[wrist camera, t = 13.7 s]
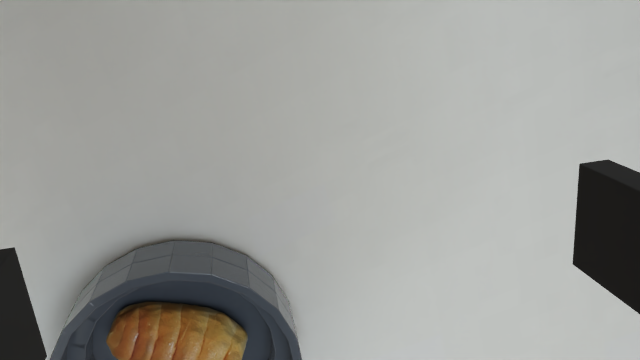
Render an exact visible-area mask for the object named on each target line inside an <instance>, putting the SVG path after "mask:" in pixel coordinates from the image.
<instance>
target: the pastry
mask: <svg viewBox="0 0 640 360" xmlns="http://www.w3.org/2000/svg"><path fill="white" fill-rule="evenodd" d="M247 340H248V335H247V333H246V331H245V330H244V329H243V328H242V327H241V326H240V325H239V324H238V323H236V322H235V321H234V320H232V319H231V318H230V317H229V316H227V315H226V314H225V313H222V312H219V311H216V310H213V309H211V308H208V307H200V306H197V305H188V304H181V303H180V304H175V303H170V302H169V303H167V302H143V303H139V304H133V305H129V306H127V307H125V308H124V309H122V310H121V311H119V312H118V314H117V315H116V317H115V319H114V321H113V323H112V327H111V329H110V332H109V333H108V335H107V339H106V343H107V345H108V346H109V348H110V350H111V353H112V355H113V356H115V357H116V358H117V359H118V360H242V357H243V354H244V350H245V348H246V343H247Z"/></svg>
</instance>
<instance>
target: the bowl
mask: <svg viewBox="0 0 640 360" xmlns="http://www.w3.org/2000/svg"><path fill="white" fill-rule="evenodd" d="M143 302H167V303H169V302H170V303H175V304H180V303H181V304H188V305H197V306H200V307H208V308H211V309H213V310H216V311H219V312H222V313H225V314H226V315H227V316H229V317H230V318H231V319H232V320H234V321H235V322H236V323H238V324H239V325H240V326H241V327H242V328H243V329H244V330H245V331H246V333H247V335H248V340H247V343H246V348H245V350H244V354H243V357H242V360H302V358H301V353H300V348H299V344H298V339H297V334H296V330H295V326H294V322H293V317H292V313H291V309H290V304H289V301H288V300H287V298H286V297H285V295H284V293H283V292H282V290H281V289H280V287H279V286H278V284H277V282H276V281H275V279H274V278H273V276H272V275H271V274H269V273H268V272H267V271H266V270H264V269H263V268H262V267H261V266H259V265H258V264H257V263H255V262H254V261H253V260H252V259H250V258H249V257H248V256H246V255H244V254H241V253H239V252H236V251H233V250H231V249H228V248H225V247H222V246H220V245H217V244H214V243H208V242H193V241H178V240H176V241H175V240H174V241H169V242H164V243H160V244H155V245H151V246H146V247H142V248H138V249H136V250H134V251H132V252H130V253H128V254H127V255H125V256H123V257H121V258H119V259H118V260H116V261H114V262H112V263H110V264H109V265H107V266H105V267H104V268H103V269H102V270H101V271H100V272H99V273H98V274H97V276H96V277H95V278H94V279H93V280H92V281H91V282H90V283H89V284H88V285H87V286H86V287H85V288H84V289H83V291H82V292H81V293H80V295H79V297H78V299H77V301H76V303H75V305H74V307H73V309H72V311H71V313H70V315H69V317H68V320H67V322H66V324H65V326H64V328H63V330H62V332H61V334H60V337H59V339H58V341H57V344H56V346H55V348H54V351H53V353H52V355H51V358H50V360H118V359H117V358H116V357H115V356H113V355H112V353H111V350H110V348H109V346H108V345H107V343H106V339H107V335H108V333H109V332H110V329H111V327H112V323H113V321H114V319H115V317H116V315H117V314H118V312H119V311H121V310H122V309H124V308H125V307H127V306H129V305H133V304H139V303H143Z"/></svg>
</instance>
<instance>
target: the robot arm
mask: <svg viewBox="0 0 640 360" xmlns="http://www.w3.org/2000/svg"><path fill="white" fill-rule="evenodd" d="M573 265H575V266H576V267H577V268H579V269H580V270H581V271H583V272H584V273H585V274H587V275H588V276H589V277H591V278H592V279H593V280H595V281H596V282H597V283H599V284H600V285H601V286H603V287H604V288H606V289H607V290H608V291H610V292H611V293H612V294H614V295H615V296H616V297H618V298H619V299H620V300H622V301H623V302H624V303H626V304H627V305H628V306H630V307H631V308H632V309H634V310H635V311H636V312H638V313H639V314H640V173H639V172H637V171H634V170H632V169H629V168H627V167H625V166H622V165H620V164H617V163H615V162H612V161H610V160H603V161H596V162H589V163H582V164H580V166H579V181H578V195H577V210H576V225H575V239H574V254H573ZM46 357H47V355H46V351H45V348H44V345H43V341H42V338H41V335H40V331H39V328H38V325H37V321H36V318H35V314H34V311H33V308H32V304H31V301H30V298H29V294H28V291H27V288H26V284H25V281H24V278H23V274H22V271H21V267H20V264H19V261H18V257H17V254H16V251H15V247H14V248H7V249H1V250H0V360H45V359H46Z"/></svg>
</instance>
